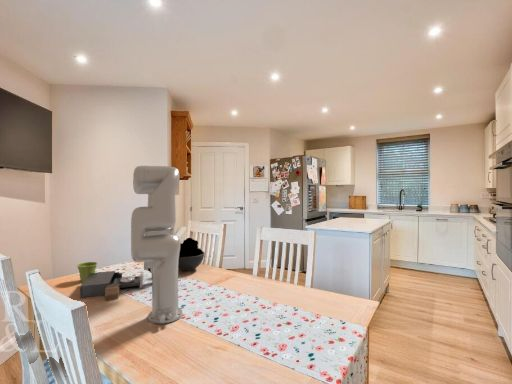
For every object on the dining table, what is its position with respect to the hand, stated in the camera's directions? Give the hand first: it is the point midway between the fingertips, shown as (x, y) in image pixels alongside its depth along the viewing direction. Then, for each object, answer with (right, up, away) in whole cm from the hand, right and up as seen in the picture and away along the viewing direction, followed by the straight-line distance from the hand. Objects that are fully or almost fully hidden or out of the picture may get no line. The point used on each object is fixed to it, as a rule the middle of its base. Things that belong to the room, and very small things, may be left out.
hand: (154, 280), depth 143 cm
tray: (-12, -1, -4) cm, 13 cm away
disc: (-12, +1, -4) cm, 13 cm away
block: (-12, -2, -19) cm, 23 cm away
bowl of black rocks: (+12, -1, +22) cm, 25 cm away
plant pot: (-37, -2, +4) cm, 37 cm away
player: (-23, -1, -8) cm, 24 cm away
